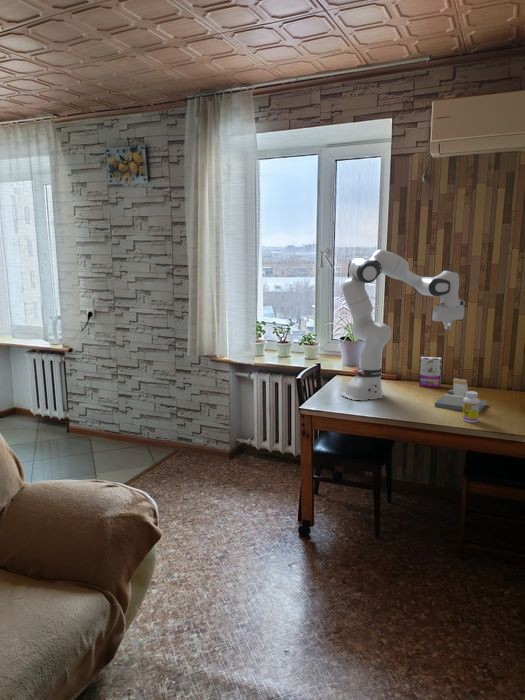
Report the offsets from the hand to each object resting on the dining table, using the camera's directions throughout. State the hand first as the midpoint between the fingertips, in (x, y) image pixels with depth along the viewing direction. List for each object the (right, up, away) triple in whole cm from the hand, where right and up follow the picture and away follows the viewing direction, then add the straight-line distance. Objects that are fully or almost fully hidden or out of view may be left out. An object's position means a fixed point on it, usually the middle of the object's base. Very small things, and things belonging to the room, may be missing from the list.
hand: (447, 329), depth 259 cm
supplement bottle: (-5, -42, -40) cm, 58 cm away
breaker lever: (0, -35, -19) cm, 39 cm away
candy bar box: (-3, -31, +19) cm, 37 cm away
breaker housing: (0, -38, -18) cm, 42 cm away
